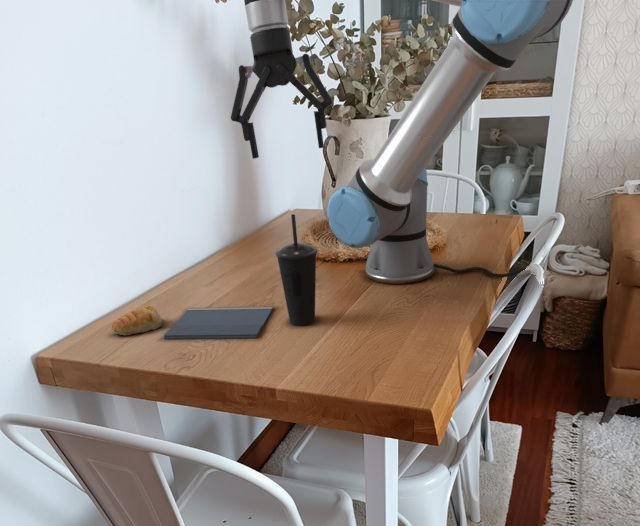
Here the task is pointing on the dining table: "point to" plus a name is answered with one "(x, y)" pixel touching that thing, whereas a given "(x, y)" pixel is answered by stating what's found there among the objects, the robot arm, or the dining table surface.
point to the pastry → (137, 321)
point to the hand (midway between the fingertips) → (288, 153)
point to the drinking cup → (298, 279)
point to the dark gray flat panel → (220, 323)
